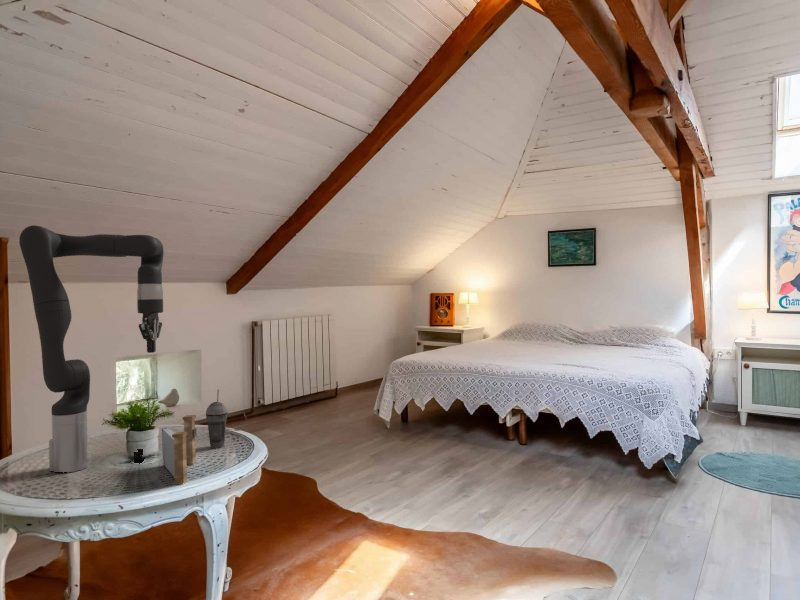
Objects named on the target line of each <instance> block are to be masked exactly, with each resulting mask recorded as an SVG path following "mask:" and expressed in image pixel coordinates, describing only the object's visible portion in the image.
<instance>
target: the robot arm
mask: <svg viewBox="0 0 800 600" xmlns="http://www.w3.org/2000/svg"><path fill="white" fill-rule="evenodd" d="M18 239H19V240H18V243H19V247H20V251H21V254H22V257H23V261H24V263H25V266H26V270H27V274H28V278H29V279H28V280H29V286H30V291H31V296H32V303H33V310H34V315H35V319H36V323H37V329H38V334H39V340H40V349H41V361H42V363H41V364H42V375H43V381H44V384H45V386H46V387H47V389H48V390H49V391H50V392H53V393H57V394H58V393H63V395H62V396H61V398H60V399H59V400H58V401H56V402H55V403H53V404H52V405H51V437H52V438H51V439H49V440H48V455H49V456H48V458H49V472H50V471H55V472H63V473H62V474H65V473H64V472H67V473H72V472H79V471H81V470H84V469H86V468H87V467H88V466H89V451H88V450H89V448H88V446H89V443H88V441H89V439H88V411H87V410H88V409H87V408H88V404H89V402H90V395H91V394H90V392H91V391H90V390H91V389H90V388H91V373H90V368H89V366H88V364H87V363H86V362H85V361H84V360H82V359H77V358H75V359H69V360H66V357H65V351H64V342H65V338H66V336H67V333H68V330H69V328H70V324H71V322H72V310H71V304H70V300H69V296H68V293H67V291H66V289H65V286H64V285H63V283H62V281H61V279H60V277H59V276H58V273H57V270H56V268H55V263H54V258H62V257H73V256H74V257H75V256H76V257H77V256H89V257H93V256H94V257H110V258H125V257H137V258H139V257H140V266H139V267H138V268H137V289H136V296H137V298H136V301H137V303H136V305H137V308H136V309H137V313H138V314H142V319H141V323H139V324H138V328H139V331H140V335H141V336H142V340H145V341H146V352H147V353H149V354H150V353H155V352H156V351H157V349H156V347H157V346H156V341H157V339H158V338H160V334H161V329H162V327H163V322H161V321H160V318H159V314H163V312H164V290H163V289H164V288H163V279H162V278H163V277H162V276H163V275H162V268H163V261H164V252H165V251H164V244H163V242H162V241H161V240H160V239H159V238H157V237H154V236H152V235H149V234H148V235H147V234H130V235H128V234H127V235H124V234H111V233H110V234H105V233H104V234H103V233H102V234H89V235H82V236H81V235H77V236H76V235H67V234H62V233H57V232H54V231H53V230H50V229H48V228H47V227H44V226H41V225H34V224H33V225H29V226H27V227H24V229H23V230H22V231H21V232H20V234H19V238H18ZM55 472H54V473H55Z"/></svg>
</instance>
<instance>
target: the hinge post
mask: <svg viewBox="0 0 800 600" xmlns="http://www.w3.org/2000/svg"><path fill="white" fill-rule="evenodd" d="M186 435H187V432H184V431H176V432H175V433H174V434H172V438H173V437H174V469H175V479H174V485H184V484H186V483H185V482H186V481H187V482H188V467H187V466H188V465H187V461H186ZM183 483H184V484H183Z"/></svg>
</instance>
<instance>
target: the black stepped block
mask: <svg viewBox="0 0 800 600" xmlns="http://www.w3.org/2000/svg"><path fill="white" fill-rule="evenodd" d="M137 450H138V452H134V451H133V461H132V460H130V461H131V462H134V463H139V464H138V465H141V464H140V463H142V462H143V461H144V459H145V458H142V455H143V449H137ZM142 464H143V463H142Z"/></svg>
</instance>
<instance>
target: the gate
mask: <svg viewBox="0 0 800 600" xmlns="http://www.w3.org/2000/svg"><path fill="white" fill-rule="evenodd" d="M174 433H176V432H175V431H174V430H173V429H172V428H170V427H169V426H167V427H161V441H162V443H161V444H162V445H161V447H162V448H161V449H162V450H161V451H162V453H161V454H162V465H163V466H165V467H166V469H167V470H168V471H169V473H170V474H171V475H172V477H174V480H175V469H174V437H173V438H172V434H174Z"/></svg>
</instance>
